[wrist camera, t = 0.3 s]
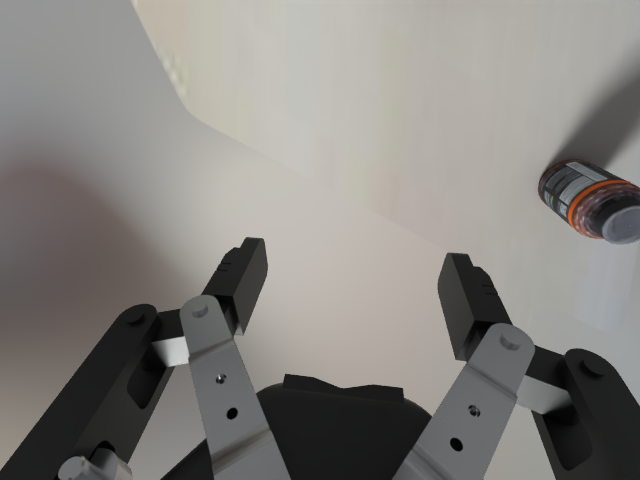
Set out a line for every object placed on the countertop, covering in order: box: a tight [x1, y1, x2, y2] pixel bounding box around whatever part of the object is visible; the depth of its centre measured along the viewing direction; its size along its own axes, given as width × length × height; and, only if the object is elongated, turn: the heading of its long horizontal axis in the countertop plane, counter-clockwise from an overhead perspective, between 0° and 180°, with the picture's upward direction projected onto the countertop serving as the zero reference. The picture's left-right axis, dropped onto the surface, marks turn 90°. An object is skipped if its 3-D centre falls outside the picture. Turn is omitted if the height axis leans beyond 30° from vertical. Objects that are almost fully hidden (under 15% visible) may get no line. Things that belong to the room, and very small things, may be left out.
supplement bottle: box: [538, 160, 640, 244], centre depth 31 cm, size 6×6×11 cm
